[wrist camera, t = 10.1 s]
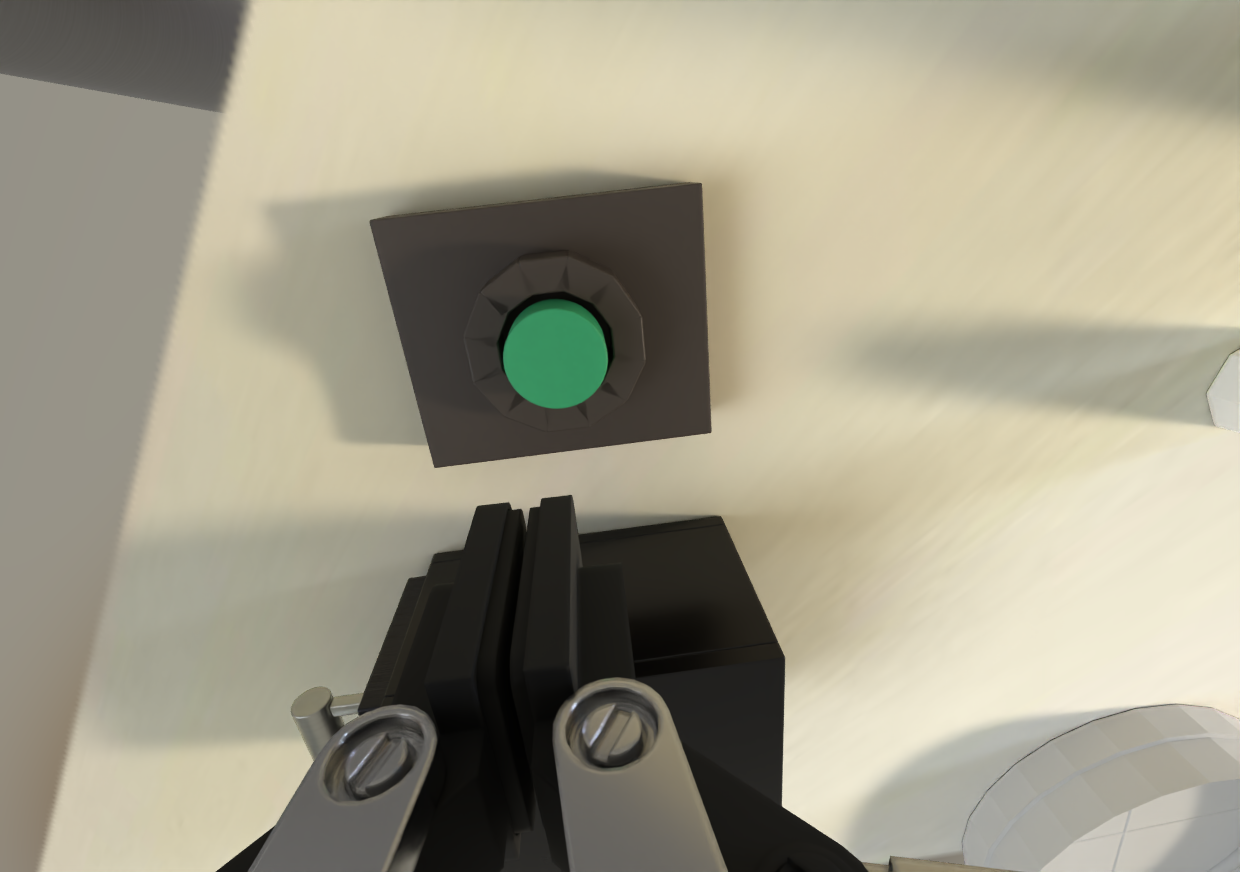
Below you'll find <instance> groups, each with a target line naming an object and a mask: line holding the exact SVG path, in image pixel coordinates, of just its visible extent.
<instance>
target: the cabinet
mask: <svg viewBox="0 0 1240 872" xmlns="http://www.w3.org/2000/svg"><path fill="white" fill-rule="evenodd" d="M578 537H579V544H580V551H581V558H582V565H583V567H587V566H596V565H604V564H612V563H622V571H623V579H624V588H625V596H626V604H627V612H628V620H629V629H630V637H631V645H632V653H633V661H634V670H635V678H636V681H639V682H641V683H643V684H646V685H648V686H650V687H651V688H652V689H653V690H654V691H655V692H657V693H658V694H659V695H660V696H661V697H662V699H663V701H664V702H665V704H666V706H667V707H668V709H669V711H670V714H671V717H672V720H673V722H674V725H675V728H676V731H677V733H678V736H679V739H680V741H682V742H684V743H685V744H687V745H688V746H690V747H691V748H693V749H694V750H696V751H697V752H699V753H700V754H702V755H704V756H705V757H707V758H708V759H710V760H711V761H713V762H714V763H716V764H717V765H719V766H720V767H722V768H723V769H725V770H727V771H728V772H730V773H731V774H733V775H734V776H736V777H737V778H739V779H740V780H742V781H743V782H745V783H746V784H748V785H750V786H751V787H753V788H754V789H756V790H757V791H759V792H760V793H762V794H763V795H765V796H766V797H768V798H769V799H771V800H773V801H774V802H776V803H777V804H779V805H780V806H782V773H783V731H784V689H785V656H784V654H783V652H782V650H781V647H780V645H779V643H778V641H777V638H776V636H775V634H774V632H773V630H772V627H771V625H770V623H769V621H768V619H767V616H766V614H765V612H764V610H763V607H762V605H761V603H760V601H759V599H758V596H757V594H756V592H755V590H754V587H753V585H752V583H751V581H750V579H749V576H748V574H747V572H746V570H745V568H744V565H743V563H742V561H741V559H740V556H739V554H738V552H737V550H736V548H735V545H734V543H733V541H732V539H731V537H730V534H729V532H728V530H727V528H726V526H725V523H724V521H723V519H722V517H721V516H718V517H710V518H703V519H695V520H688V521H680V522H672V523H665V524H657V525H650V526H642V527H635V528H627V529H619V530H612V531H604V532H597V533H589V534H582V535H578ZM462 554H463V550H460V551H453V552H445V553H437V554H434V556H433V559H432V562H431V564H430V567H429V570H428V573H427V576H426V579H425V582H424V584H423V587H422V590H421V593H420V596H419V599H418V601H417V604H416V607H415V610H414V613H413V616H412V619H411V621H410V624H409V627H408V630H407V633H406V636H405V639H404V641H403V644H402V647H401V650H400V653H399V656H398V659H397V661H396V664H395V667H394V670H393V673H392V676H391V679H390V681H389V684H388V687H387V690H386V693H385V696H384V697H385V698H384V699H383V701H382V704H381V707H383V706H391V704H392V701H393V698H394V695H395V692H396V689H397V686H398V684H399V681H400V678H401V675H402V672H403V669H404V666H405V664H406V661H407V658H408V655H409V652H410V649H411V646H412V643H413V641H414V638H415V635H416V632H417V629H418V626H419V623H420V621H421V618H422V615H423V612H424V609H425V606H426V603H427V600H428V598H429V595H430V592H431V590H432V588H433V587H434V586H435V585H437V584H445V583H453V582H454V581H455V577H456V574H457V571H458V567H459V564H460V561H461V557H462ZM500 872H562V871H561V870H560V869H559V868H558V867H557V866H556V865H555V864H554V863H553V862H552V859H551V854H550V850H549V845H548V841H547V837H546V832H545V829H544V828H543V825H542V821H541V816H540V812H539V808H538V803H537V799H536V809H535V823H534V829H533V831H530V832H523V833H521V841H520V853H519V860H513V861H505V862H504V868H503V869H502V870H501V871H500Z"/></svg>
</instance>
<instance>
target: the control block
mask: <svg viewBox="0 0 1240 872" xmlns="http://www.w3.org/2000/svg"><path fill="white" fill-rule="evenodd" d="M370 226H371V229H372V233H373V237H374V241H375V245H376V248H377V252H378V256H379V260H380V263H381V267H382V271H383V275H384V279H385V282H386V286H387V290H388V294H389V298H390V301H391V305H392V309H393V313H394V317H395V320H396V324H397V328H398V332H399V335H400V339H401V343H402V347H403V351H404V354H405V358H406V362H407V366H408V370H409V373H410V377H411V381H412V385H413V389H414V392H415V396H416V400H417V404H418V407H419V411H420V415H421V419H422V423H423V426H424V430H425V434H426V438H427V442H428V445H429V449H430V453H431V457H432V461H433V464H434V467H435V468H438V467H446V466H454V465H462V464H470V463H478V462H486V461H494V460H502V459H509V458H517V457H525V456H533V455H541V454H549V453H557V452H565V451H572V450H580V449H588V448H596V447H604V446H612V445H620V444H628V443H635V442H643V441H651V440H659V439H667V438H675V437H683V436H691V435H698V434H706V433H711V432H712V431H711V405H710V379H709V353H708V327H707V301H706V275H705V249H704V223H703V197H702V183H692V182H688V183H679V184H670V185H661V186H652V187H643V188H635V189H626V190H617V191H608V192H599V193H590V194H581V195H572V196H563V197H554V198H545V199H536V200H527V201H518V202H510V203H501V204H492V205H483V206H474V207H465V208H456V209H447V210H438V211H429V212H420V213H411V214H402V215H394V216H386V217H382V218H377V219H373V220H370ZM547 299H564V300H568V301H571V302H574V303H577V304H578V305H580V306H582V307H584V308H585V309H586V310H588V311H589V312H590V313H591V314H592V315H593V316H594V318H595V319H596V320H597V322H598V323H599V325H600V327H601V329H602V332H603V335H604V339H605V344H606V348H607V354H608V365H607V370H606V374H605V377H604V379H603V381H602V383H601V385H600V386H599V388H598V389H597V390H596V392H595V393H594V394H593V395H592V396H590V397H589V398H588V399H586V400H585V401H583V402H582V403H579V404H577V405H575V406H572V407H568V408H560V409H553V408H545V407H541V406H538V405H536V404H533V403H531V402H530V401H528V400H526V399H525V398H523V397H522V396H521V395H520V394H519V393H518V392H517V391H516V390H515V389H514V388H513V386H512V385H511V383H510V381H509V380H508V378H507V375H506V372H505V369H504V363H503V352H504V346H505V343H506V339H507V337H508V334H509V331H510V329H511V326H512V324H513V322H514V321H515V319H516V318H517V317H518V315H519V314H520V313H521V312H522V311H523V310H525V309H526V308H527V307H529V306H530V305H532V304H534V303H536V302H539V301H542V300H547Z"/></svg>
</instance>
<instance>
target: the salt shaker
mask: <svg viewBox="0 0 1240 872" xmlns="http://www.w3.org/2000/svg"><path fill="white" fill-rule="evenodd" d="M1206 394H1207V398H1208V402H1209V407H1210V411H1211V415H1212V419H1213V423H1214V425H1215V426H1217V427H1221V428H1224V429H1228V430H1231V431H1235V432H1238V433H1240V349H1239V350H1238V351H1236V352H1234V353H1232V354H1231V355H1229V357H1228V359H1227V360H1226V362H1225V364H1224V365H1223V367H1222V368H1221V370H1220V372H1219V373H1218V375H1217V377H1216V378H1215V380H1214V381H1213V383H1212V385H1211V386H1210V388H1209V390H1208V391H1207V393H1206Z"/></svg>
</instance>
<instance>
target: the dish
mask: <svg viewBox="0 0 1240 872" xmlns="http://www.w3.org/2000/svg"><path fill="white" fill-rule="evenodd" d="M962 846H963V854H964V862H965V865H970V866H979V867H987V868H995V869H1004V870H1012V871H1021V872H1240V720H1239V719H1238V718H1235V717H1233V716H1230V715H1228V714H1226V713H1223V712H1221V711H1218V710H1216V709H1213V708H1209V707H1199V706H1189V705H1179V704H1174V705H1165V706H1156V707H1147V708H1138V709H1133V710H1130V711H1126V712H1123V713H1119V714H1116V715H1113V716H1109V717H1106V718H1102V719H1099V720H1096V721H1092V722H1090V723H1088V724H1086V725H1084V726H1082V727H1079V728H1077V729H1075V730H1073V731H1071V732H1069V733H1066V734H1064V735H1062V736H1060V737H1058V738H1056V739H1054V740H1051V741H1050V742H1048V743H1047V744H1045V745H1044V746H1042V747H1041V748H1039V749H1038V750H1036V751H1035V752H1033V753H1032V754H1030V755H1029V756H1027V757H1026V758H1024V759H1023V760H1021V761H1020V762H1018V763H1017V764H1015V765H1014V766H1013V767H1012V768H1011V769H1010V770H1009V771H1008V772H1007V773H1006V774H1005V775H1004V776H1003V777H1002V778H1001V779H999V780H998V781H997V782H996V783H995V784H994V785H993V786H992V787H991V788H990V789H989V790H988V791H987V792H986V794H985V795H984V797H983V798H982V800H981V801H980V803H979V804H978V806H977V807H976V809H975V810H974V812H973V813H972V815H971V816H970V818H969V821H968V825H967V828H966V831H965V834H964V838H963V841H962ZM1235 869H1236V870H1235Z"/></svg>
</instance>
